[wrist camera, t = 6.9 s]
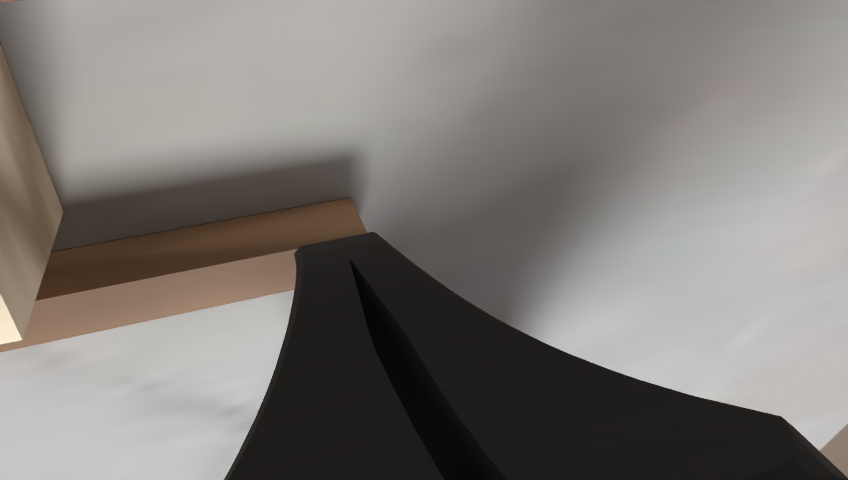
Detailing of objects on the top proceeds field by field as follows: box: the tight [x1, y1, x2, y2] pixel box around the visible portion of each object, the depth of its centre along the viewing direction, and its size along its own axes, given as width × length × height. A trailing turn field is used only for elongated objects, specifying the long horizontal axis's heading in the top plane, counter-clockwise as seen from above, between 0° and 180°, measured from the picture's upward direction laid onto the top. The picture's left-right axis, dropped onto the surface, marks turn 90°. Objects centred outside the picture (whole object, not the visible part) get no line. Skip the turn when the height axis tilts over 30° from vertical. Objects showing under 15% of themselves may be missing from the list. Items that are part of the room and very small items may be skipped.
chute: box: [0, 0, 367, 352], centre depth 16 cm, size 10×14×3 cm
